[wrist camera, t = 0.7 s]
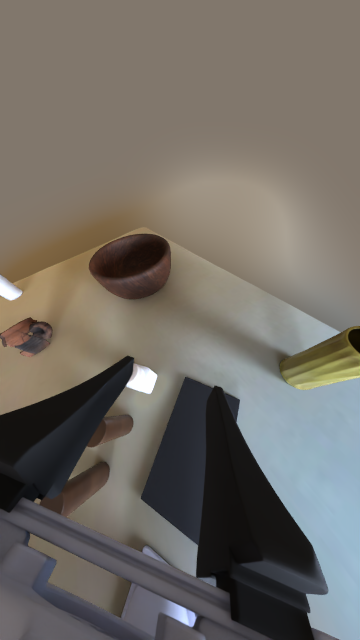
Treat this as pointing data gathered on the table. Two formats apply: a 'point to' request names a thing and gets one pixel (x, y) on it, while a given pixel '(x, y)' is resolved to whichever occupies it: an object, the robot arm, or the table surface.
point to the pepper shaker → (142, 379)
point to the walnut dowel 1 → (78, 490)
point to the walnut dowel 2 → (111, 429)
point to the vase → (325, 362)
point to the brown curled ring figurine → (27, 336)
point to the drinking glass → (9, 289)
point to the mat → (183, 461)
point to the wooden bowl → (132, 265)
